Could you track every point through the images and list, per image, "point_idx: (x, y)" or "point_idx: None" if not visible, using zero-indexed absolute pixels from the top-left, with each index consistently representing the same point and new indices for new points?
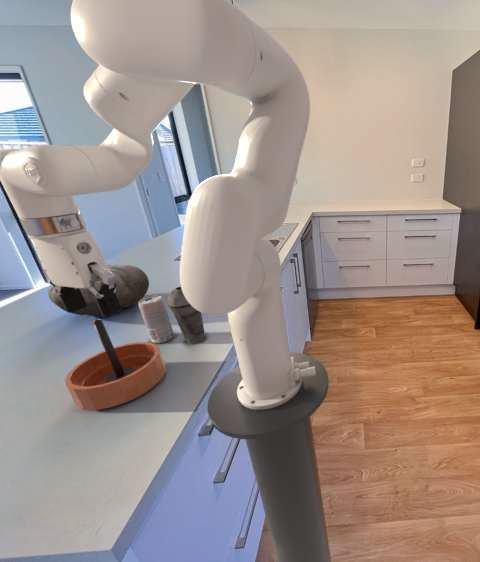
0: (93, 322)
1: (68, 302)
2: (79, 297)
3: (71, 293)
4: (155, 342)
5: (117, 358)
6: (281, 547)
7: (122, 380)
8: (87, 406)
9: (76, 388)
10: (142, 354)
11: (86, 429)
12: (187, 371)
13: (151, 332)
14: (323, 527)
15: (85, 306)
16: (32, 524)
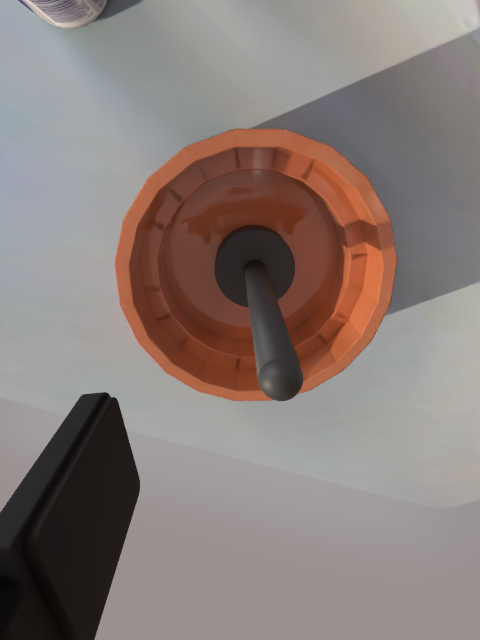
0: (280, 400)
1: (110, 548)
2: (86, 487)
3: (70, 593)
4: (81, 26)
5: (270, 283)
6: None
7: (375, 328)
8: None
9: None
10: (217, 166)
11: None
12: (394, 131)
13: (54, 3)
14: None
15: (116, 404)
16: (436, 488)
